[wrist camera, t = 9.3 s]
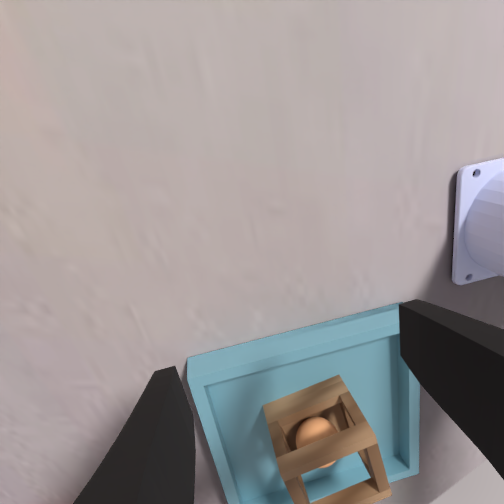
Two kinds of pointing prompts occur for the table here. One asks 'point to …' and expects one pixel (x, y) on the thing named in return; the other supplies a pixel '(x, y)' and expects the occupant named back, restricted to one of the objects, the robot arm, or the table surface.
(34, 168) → the table surface
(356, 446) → the wooden cage puzzle
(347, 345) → the tray
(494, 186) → the robot arm
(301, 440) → the ball
